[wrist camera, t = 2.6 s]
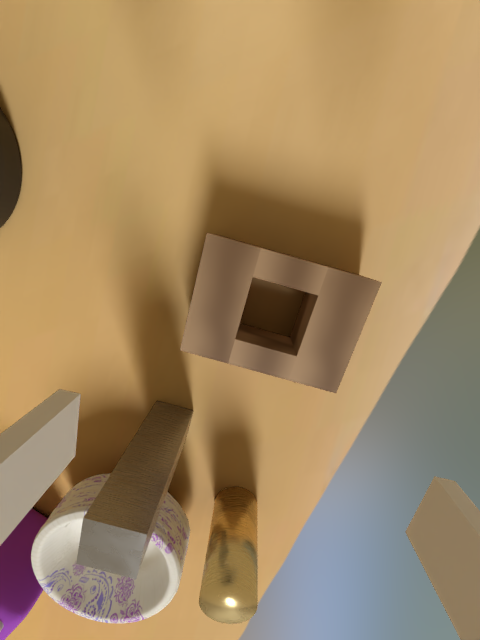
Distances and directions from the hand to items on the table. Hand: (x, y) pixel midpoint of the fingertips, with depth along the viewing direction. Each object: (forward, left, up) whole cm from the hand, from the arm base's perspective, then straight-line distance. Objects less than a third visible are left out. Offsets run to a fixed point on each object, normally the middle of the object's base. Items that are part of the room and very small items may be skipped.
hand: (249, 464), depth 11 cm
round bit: (+4, -23, -19) cm, 30 cm away
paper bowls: (-8, -27, -19) cm, 34 cm away
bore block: (+1, +2, -19) cm, 19 cm away
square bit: (-6, -14, -19) cm, 24 cm away
